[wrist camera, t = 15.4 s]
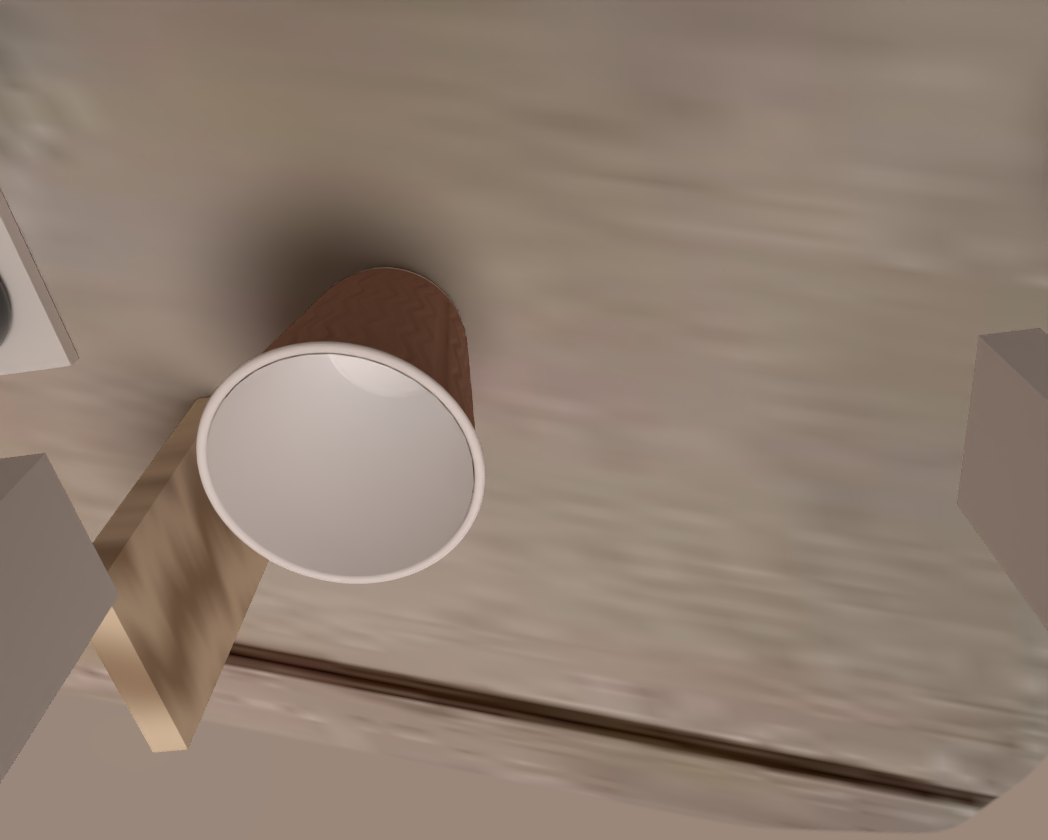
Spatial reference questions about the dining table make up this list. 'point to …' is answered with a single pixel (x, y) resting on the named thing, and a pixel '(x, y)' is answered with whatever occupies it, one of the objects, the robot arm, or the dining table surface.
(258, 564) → the set of wooden blocks
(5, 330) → the supplement bottle
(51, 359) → the grey pad
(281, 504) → the coffee cup
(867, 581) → the dining table surface
